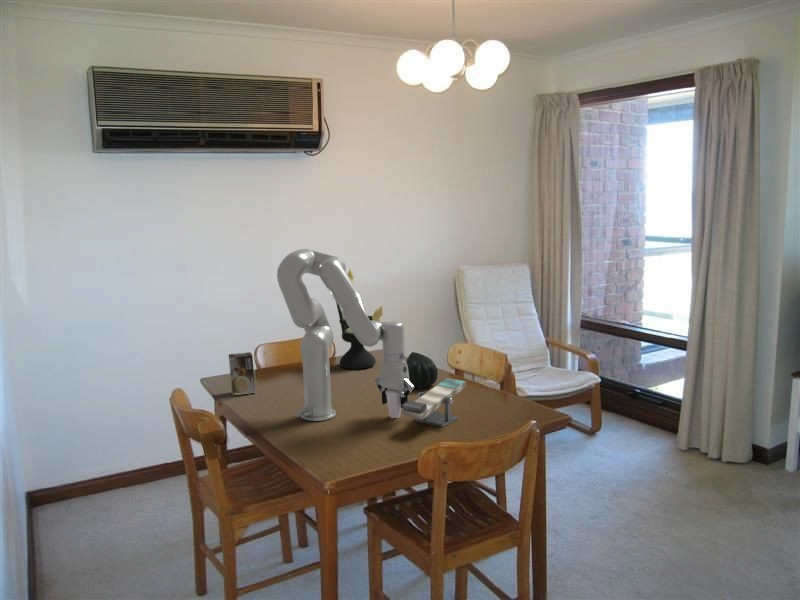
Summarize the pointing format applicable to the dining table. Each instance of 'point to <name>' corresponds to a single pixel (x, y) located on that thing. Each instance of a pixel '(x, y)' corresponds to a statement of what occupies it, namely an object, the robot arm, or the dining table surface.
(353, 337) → the toy throne chair
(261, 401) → the dining table surface
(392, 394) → the smoothie
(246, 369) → the coffee box
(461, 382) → the beam
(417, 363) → the squash
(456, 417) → the pivot stand
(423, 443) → the dining table surface
